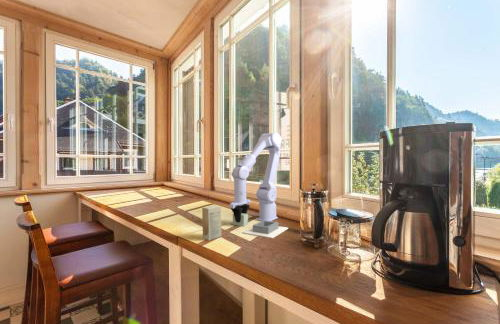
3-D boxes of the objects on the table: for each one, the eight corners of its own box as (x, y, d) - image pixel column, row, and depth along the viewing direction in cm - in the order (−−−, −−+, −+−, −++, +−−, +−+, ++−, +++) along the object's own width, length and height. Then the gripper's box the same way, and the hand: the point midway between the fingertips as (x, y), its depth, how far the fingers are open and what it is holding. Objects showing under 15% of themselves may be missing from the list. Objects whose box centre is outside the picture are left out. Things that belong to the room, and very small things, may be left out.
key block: (237, 222, 121) (237, 212, 121) (247, 224, 118) (247, 213, 118) (233, 224, 118) (232, 214, 118) (243, 226, 115) (243, 215, 115)
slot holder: (260, 224, 119) (260, 218, 118) (288, 228, 111) (288, 221, 111) (242, 233, 105) (242, 225, 105) (272, 238, 98) (272, 230, 98)
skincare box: (215, 234, 103) (215, 204, 103) (221, 237, 100) (221, 206, 100) (201, 238, 98) (201, 207, 98) (208, 240, 95) (208, 208, 95)
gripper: (241, 190, 126) (241, 217, 127) (224, 193, 114) (224, 223, 114) (253, 190, 123) (253, 218, 123) (237, 194, 110) (237, 225, 111)
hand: (240, 221), depth 118 cm, fingers closed on key block, 4 cm apart
